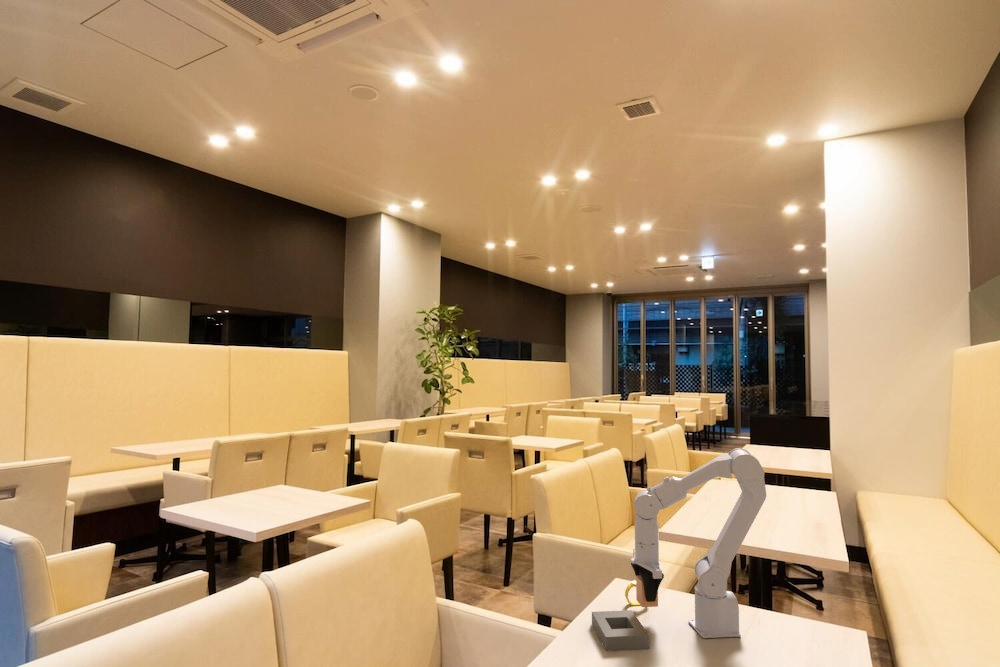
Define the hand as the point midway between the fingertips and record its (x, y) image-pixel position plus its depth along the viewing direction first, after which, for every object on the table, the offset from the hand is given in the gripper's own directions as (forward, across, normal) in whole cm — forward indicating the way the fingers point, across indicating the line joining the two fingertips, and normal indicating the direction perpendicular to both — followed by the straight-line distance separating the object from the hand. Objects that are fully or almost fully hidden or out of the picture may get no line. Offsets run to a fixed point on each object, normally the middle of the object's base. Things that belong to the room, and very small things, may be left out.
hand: (647, 596), depth 134 cm
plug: (+2, 0, 0) cm, 2 cm away
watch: (+6, -10, +1) cm, 11 cm away
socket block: (+6, +6, -9) cm, 12 cm away
